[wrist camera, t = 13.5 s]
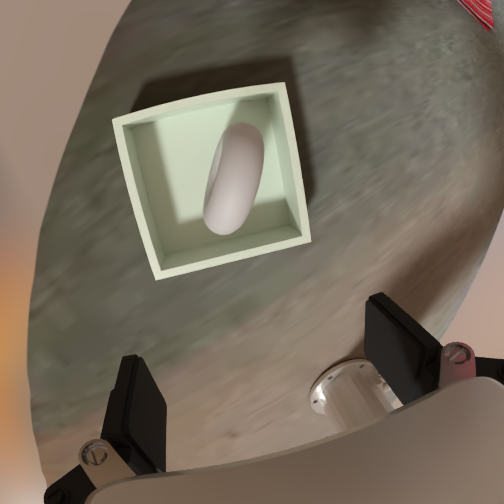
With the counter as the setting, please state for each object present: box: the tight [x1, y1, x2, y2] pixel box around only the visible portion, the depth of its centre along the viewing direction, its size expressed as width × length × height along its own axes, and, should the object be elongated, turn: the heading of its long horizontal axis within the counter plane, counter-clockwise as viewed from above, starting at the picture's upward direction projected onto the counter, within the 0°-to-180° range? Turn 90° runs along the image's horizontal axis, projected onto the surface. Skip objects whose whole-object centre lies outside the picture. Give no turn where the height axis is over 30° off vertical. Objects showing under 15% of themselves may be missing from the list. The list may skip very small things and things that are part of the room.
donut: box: [203, 122, 264, 235], centre depth 25 cm, size 10×3×10 cm, turn 165°
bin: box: [112, 82, 311, 280], centre depth 28 cm, size 16×16×5 cm
